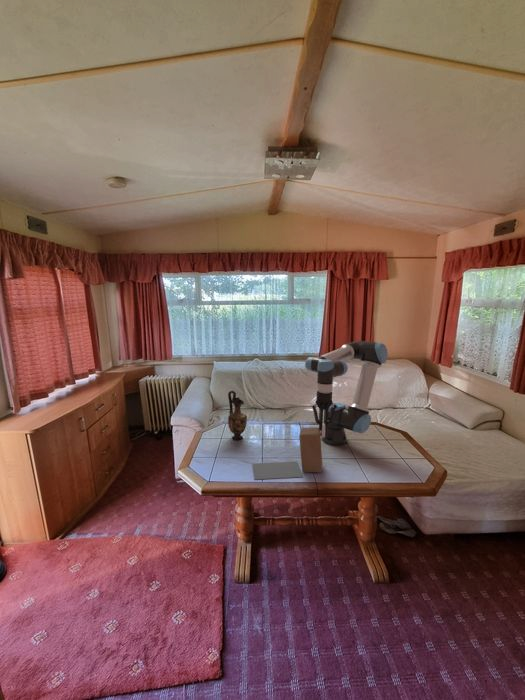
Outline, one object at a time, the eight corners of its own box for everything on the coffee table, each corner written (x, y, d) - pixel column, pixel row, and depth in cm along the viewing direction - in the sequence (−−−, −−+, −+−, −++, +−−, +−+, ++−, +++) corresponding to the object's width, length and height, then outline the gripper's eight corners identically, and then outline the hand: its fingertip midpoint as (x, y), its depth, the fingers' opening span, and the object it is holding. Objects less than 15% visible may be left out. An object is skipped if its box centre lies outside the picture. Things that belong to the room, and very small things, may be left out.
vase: (239, 444, 174) (239, 396, 169) (223, 439, 181) (222, 392, 176) (250, 436, 184) (250, 391, 179) (234, 432, 190) (234, 388, 186)
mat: (297, 461, 155) (297, 461, 155) (303, 477, 141) (303, 476, 141) (252, 464, 153) (252, 463, 153) (254, 479, 139) (254, 479, 139)
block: (322, 473, 143) (319, 434, 140) (302, 472, 145) (298, 435, 142) (322, 462, 153) (319, 426, 150) (303, 462, 155) (300, 426, 152)
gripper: (334, 388, 147) (332, 432, 151) (309, 389, 146) (308, 433, 149) (340, 393, 140) (337, 439, 143) (313, 393, 138) (312, 440, 142)
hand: (322, 436), depth 146 cm, fingers closed
